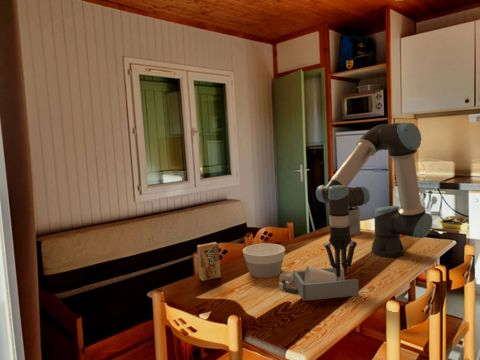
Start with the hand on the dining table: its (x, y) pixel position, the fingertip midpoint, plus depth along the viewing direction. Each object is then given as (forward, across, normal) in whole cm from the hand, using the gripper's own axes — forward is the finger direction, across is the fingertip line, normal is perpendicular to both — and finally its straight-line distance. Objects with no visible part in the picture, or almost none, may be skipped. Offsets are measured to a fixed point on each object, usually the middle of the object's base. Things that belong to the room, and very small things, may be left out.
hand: (341, 284), depth 152 cm
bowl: (+2, +26, -26) cm, 37 cm away
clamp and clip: (+2, +20, -10) cm, 22 cm away
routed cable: (+2, +20, -6) cm, 21 cm away
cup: (-1, +2, 0) cm, 3 cm away
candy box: (+2, +51, -26) cm, 57 cm away
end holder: (+2, +6, 0) cm, 6 cm away
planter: (+2, -33, -80) cm, 87 cm away
